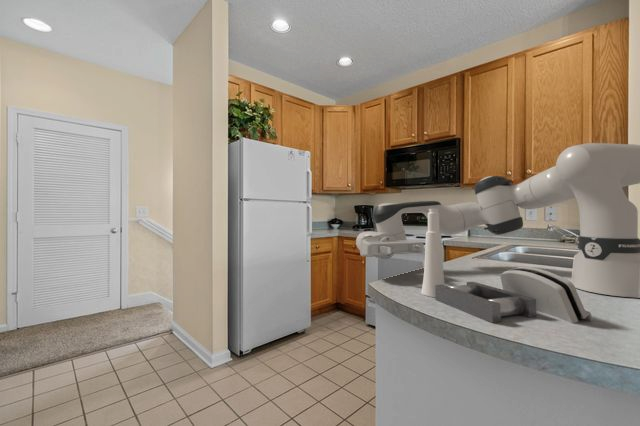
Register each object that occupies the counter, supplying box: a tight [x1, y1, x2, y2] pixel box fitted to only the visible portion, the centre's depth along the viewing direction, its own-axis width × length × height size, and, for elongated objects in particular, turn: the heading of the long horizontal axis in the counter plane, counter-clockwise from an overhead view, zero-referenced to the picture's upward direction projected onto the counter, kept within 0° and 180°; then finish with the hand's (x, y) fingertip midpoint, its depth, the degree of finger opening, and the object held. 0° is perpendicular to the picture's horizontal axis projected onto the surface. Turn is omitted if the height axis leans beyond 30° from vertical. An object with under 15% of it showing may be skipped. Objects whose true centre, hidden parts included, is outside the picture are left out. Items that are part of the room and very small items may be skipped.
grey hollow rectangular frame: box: [434, 281, 537, 324], centre depth 66 cm, size 12×16×4 cm
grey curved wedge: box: [500, 266, 594, 324], centre depth 65 cm, size 17×5×10 cm, turn 10°
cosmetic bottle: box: [420, 209, 446, 298], centre depth 76 cm, size 6×6×22 cm
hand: (406, 250), depth 88 cm, fingers open, 8 cm apart
